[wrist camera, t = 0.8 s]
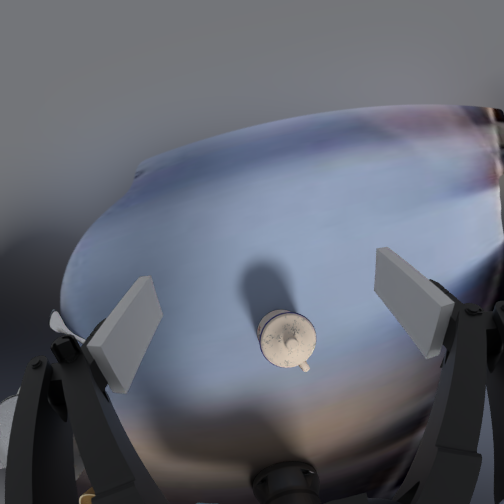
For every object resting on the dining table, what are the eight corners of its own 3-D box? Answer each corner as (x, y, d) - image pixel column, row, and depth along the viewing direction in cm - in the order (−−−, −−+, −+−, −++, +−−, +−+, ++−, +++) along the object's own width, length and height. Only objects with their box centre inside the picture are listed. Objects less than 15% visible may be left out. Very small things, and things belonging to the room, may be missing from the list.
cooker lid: (98, 470, 31) (101, 473, 31) (13, 496, 13) (15, 501, 12) (62, 384, 34) (65, 386, 33) (-36, 402, 15) (-37, 404, 15)
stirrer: (113, 360, 43) (105, 379, 42) (121, 357, 47) (113, 374, 46) (46, 304, 45) (41, 322, 44) (56, 304, 48) (50, 322, 47)
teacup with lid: (246, 325, 49) (249, 336, 38) (287, 298, 50) (302, 301, 39) (280, 375, 48) (291, 397, 37) (319, 349, 49) (341, 364, 38)
